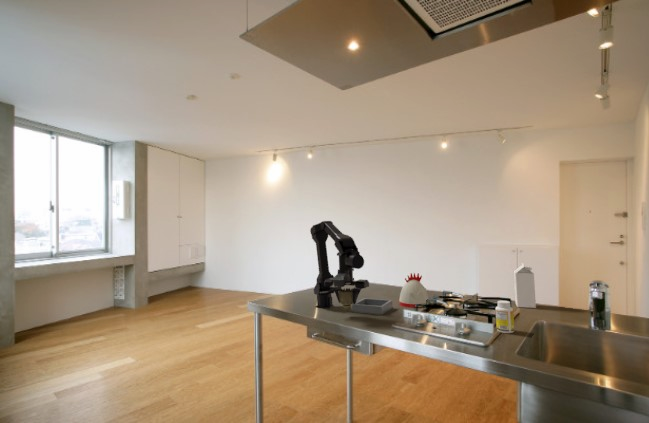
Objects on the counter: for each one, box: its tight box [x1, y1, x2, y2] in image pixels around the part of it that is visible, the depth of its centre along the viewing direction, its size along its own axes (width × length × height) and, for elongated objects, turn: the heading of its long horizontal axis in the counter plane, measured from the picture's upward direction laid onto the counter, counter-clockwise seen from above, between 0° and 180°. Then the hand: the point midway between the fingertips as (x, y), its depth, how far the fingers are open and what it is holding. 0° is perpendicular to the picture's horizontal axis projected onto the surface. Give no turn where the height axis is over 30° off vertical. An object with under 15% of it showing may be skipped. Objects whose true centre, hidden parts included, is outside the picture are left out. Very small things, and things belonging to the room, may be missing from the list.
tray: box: [351, 297, 394, 316], centre depth 158 cm, size 14×14×4 cm
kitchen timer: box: [398, 272, 430, 309], centre depth 167 cm, size 14×14×15 cm
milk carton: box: [513, 262, 537, 309], centre depth 156 cm, size 7×7×19 cm
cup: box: [338, 287, 353, 310], centre depth 149 cm, size 8×7×8 cm
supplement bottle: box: [495, 300, 515, 334], centre depth 122 cm, size 6×6×10 cm
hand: (347, 303), depth 149 cm, fingers closed on cup, 6 cm apart
